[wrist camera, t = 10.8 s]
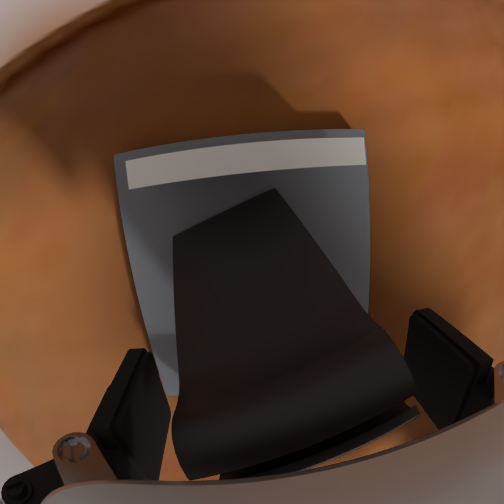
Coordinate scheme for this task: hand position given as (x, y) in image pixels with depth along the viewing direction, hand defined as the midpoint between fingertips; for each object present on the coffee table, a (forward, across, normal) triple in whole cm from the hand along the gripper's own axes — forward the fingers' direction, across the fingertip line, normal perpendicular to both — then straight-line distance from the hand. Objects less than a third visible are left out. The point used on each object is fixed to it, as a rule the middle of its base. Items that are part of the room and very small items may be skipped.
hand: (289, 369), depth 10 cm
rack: (+9, 0, -1) cm, 9 cm away
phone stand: (+8, 0, 0) cm, 8 cm away
